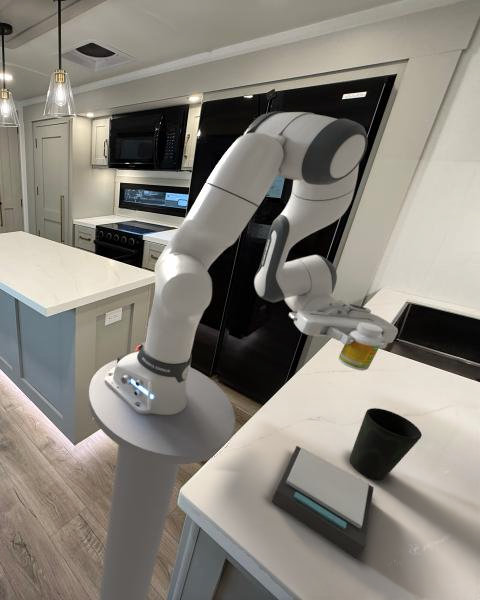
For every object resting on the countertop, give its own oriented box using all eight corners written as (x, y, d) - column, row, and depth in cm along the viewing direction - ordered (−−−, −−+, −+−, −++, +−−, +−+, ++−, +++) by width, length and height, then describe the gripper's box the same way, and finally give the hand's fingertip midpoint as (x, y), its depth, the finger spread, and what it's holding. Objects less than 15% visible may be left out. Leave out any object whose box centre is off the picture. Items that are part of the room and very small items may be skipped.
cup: (349, 445, 67) (372, 402, 62) (396, 471, 62) (425, 426, 57) (337, 463, 63) (361, 418, 58) (386, 493, 57) (417, 446, 53)
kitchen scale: (271, 501, 55) (277, 487, 53) (292, 455, 64) (297, 442, 63) (356, 558, 47) (366, 544, 46) (366, 498, 56) (375, 483, 55)
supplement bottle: (366, 374, 67) (386, 335, 63) (335, 362, 70) (352, 325, 67) (369, 364, 70) (388, 327, 66) (340, 354, 74) (357, 318, 70)
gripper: (289, 300, 79) (321, 325, 67) (374, 308, 78) (423, 335, 65) (281, 322, 82) (311, 350, 69) (363, 330, 80) (409, 360, 68)
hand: (366, 343), depth 67 cm, fingers closed on supplement bottle, 5 cm apart
